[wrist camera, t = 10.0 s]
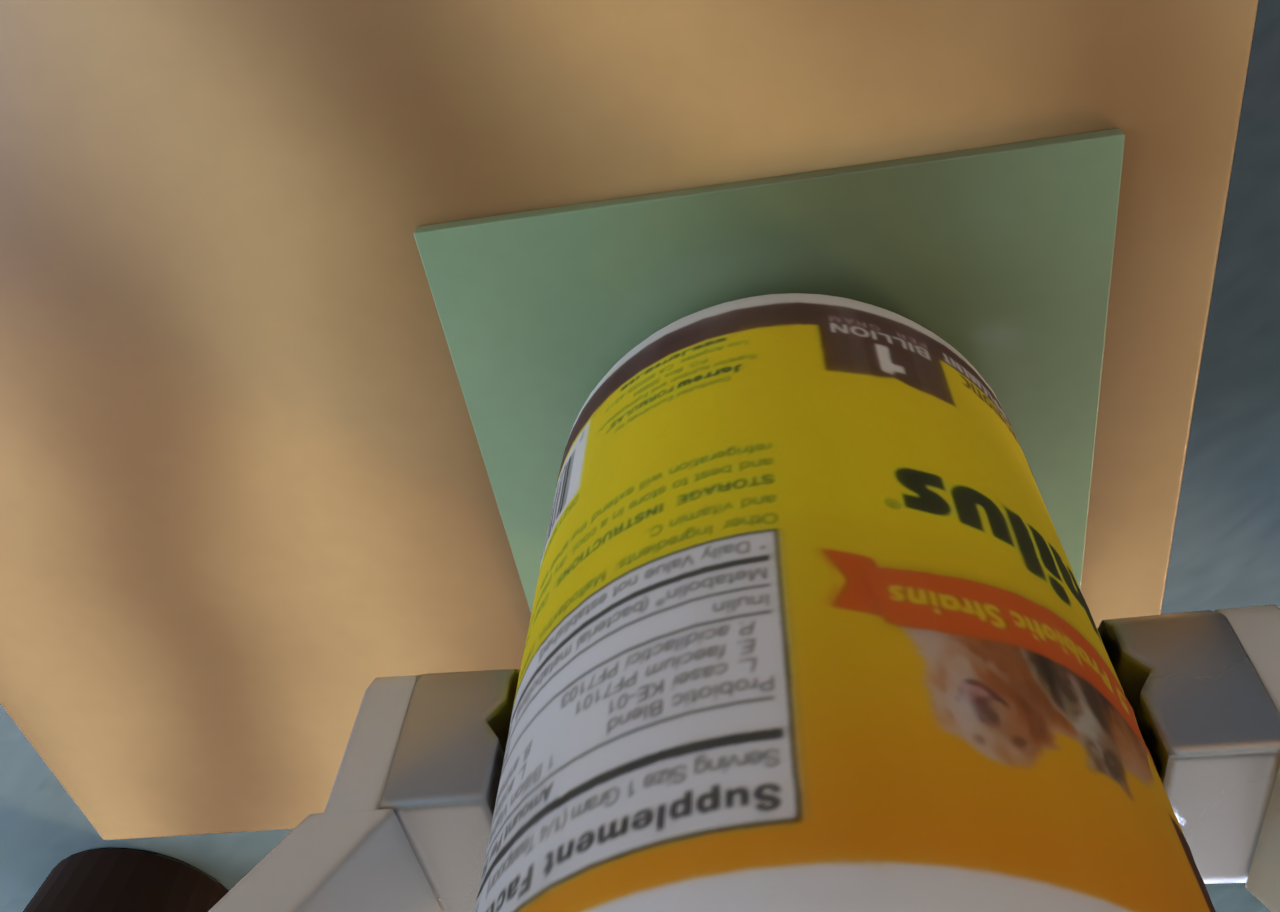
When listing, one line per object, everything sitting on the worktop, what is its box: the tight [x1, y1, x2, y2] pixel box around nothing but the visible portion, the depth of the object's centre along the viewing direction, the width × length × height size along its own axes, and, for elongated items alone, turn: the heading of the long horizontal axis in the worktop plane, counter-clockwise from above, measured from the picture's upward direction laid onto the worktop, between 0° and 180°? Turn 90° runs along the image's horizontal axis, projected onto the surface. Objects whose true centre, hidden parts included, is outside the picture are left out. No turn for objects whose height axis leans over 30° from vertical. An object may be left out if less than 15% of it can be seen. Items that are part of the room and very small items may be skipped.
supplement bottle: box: [474, 293, 1216, 912], centre depth 9 cm, size 6×6×10 cm
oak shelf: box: [0, 0, 1258, 840], centre depth 17 cm, size 18×14×8 cm
